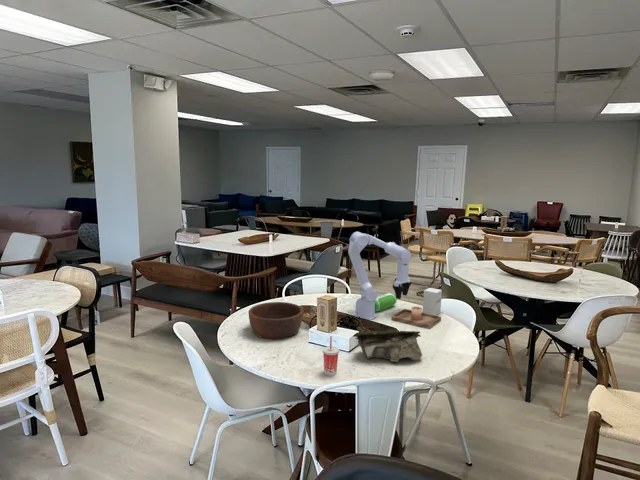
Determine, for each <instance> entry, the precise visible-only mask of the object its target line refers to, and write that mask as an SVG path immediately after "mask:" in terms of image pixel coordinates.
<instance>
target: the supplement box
mask: <svg viewBox="0 0 640 480" xmlns="http://www.w3.org/2000/svg"><path fill="white" fill-rule="evenodd" d="M442 291H443V290H442V289H438V288H433V287H429V288H428V287H427V288H426V289H424V290H423V299H422V313H427V314H431V315H436V316H438V315H439V314H440V313H441V309H442V308H441V307H442V293H443V292H442Z"/></svg>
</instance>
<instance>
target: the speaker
mask: <svg viewBox="0 0 640 480" xmlns="http://www.w3.org/2000/svg"><path fill="white" fill-rule="evenodd" d="M397 302H398V301H397V299H396V294H395V293H392V292H391V293H390V292H389V293H385V294H381V295H377V298H376V299H375V313H376V312H382V311H384V310H387V309H390V308H391V307H393V306H394V305H396V303H397Z"/></svg>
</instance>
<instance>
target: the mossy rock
mask: <svg viewBox="0 0 640 480" xmlns="http://www.w3.org/2000/svg"><path fill="white" fill-rule="evenodd" d="M420 334H421V331H419V330H416V331H414V330H410V331H406V330H399V331H397V330H378V331H377V330H374V331H370V332H369V331H368V332H365V331H363V332H356V333H354V334H353V336H352V337H354V338H355V337H356V338H355V340H357V342H358V343H359V346H360V349H361V351H362V353H363V355H364V357H365V358H366V360H369V359H371V358H379V359H381V358H383V359H385V360H389V361H390V362H399V360H401V359H405V358H409V359H410V360H411V361H419V360H420V359H421V358H422V356H423V353H422V350H421V348H420V345H419V343H418V337H422V336H421V335H420Z"/></svg>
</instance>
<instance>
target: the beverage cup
mask: <svg viewBox="0 0 640 480" xmlns="http://www.w3.org/2000/svg"><path fill="white" fill-rule="evenodd" d="M329 337H330V339H329V340H330V341H329V345H328V346H324V347H323V348H322V353H323V354H322V355H323V356H322V357H323V373H324V375H326V376H335V375H336V374H337V370H338V358H339V353H340V348H338V347H337V346H332V344H333V343H332V341H333V340H332V339H333V338H332V336H329Z"/></svg>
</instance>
